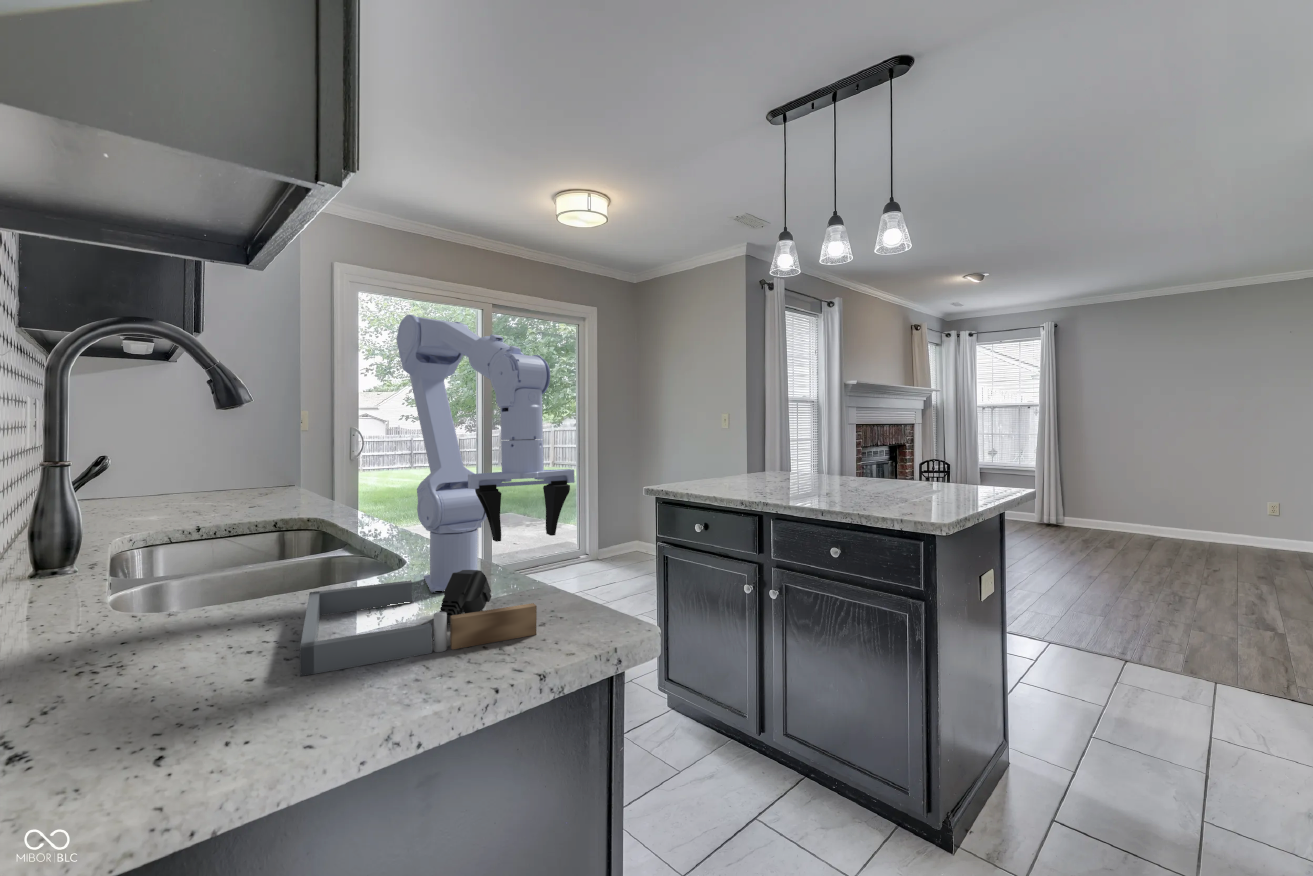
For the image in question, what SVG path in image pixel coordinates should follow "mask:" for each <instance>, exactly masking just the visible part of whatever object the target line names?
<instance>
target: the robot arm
mask: <svg viewBox="0 0 1313 876" xmlns="http://www.w3.org/2000/svg"><path fill="white" fill-rule="evenodd" d="M397 329H398V330H397V335H396V345H397V350H398V355H399V359H400V363H401V367H402V370H403V371H404V372H405V373H407V375H409V380H410V384H411V388H412V392H413V397H414V402H415V407H416V411H417V415H418V416H417V417H418V420H419V425H420V430H421V433H422V439H423V443H424V444H423V445H424V449H425V452H426V458H427V462H428V466H429V471H430V473H429V474H428V475H427V476H426V477H425V478H423V479H422V481H421V482H420V483H419V484H418V486H417V488H416V495H417V509H416V511H417V512H416V513H417V517H418V520H419V523H420V524H421V525H422V527H423V528H424V529H425V531H427V532H429V574H425V575H423V580H424V579H425V580H424V582H425V581H426V582H425V583H427V584H426V585H428V586H427V587H429V588H428V590H429V591H430V593H433V592H434V593H436V592H435V591H442V592H444V590H445V589H446V587H447V584H448V582H449V580H450V578H451V576H452V574H453V573H455V572H460V571H462V570H478V529H481V528H482V527H483V526H482V523H484V521H486V519H487V521H488V526H489V529H490V532H491V538H492V540H493V542H502V525H501V505H502V503H501V502H502V492H501V491H499V488H502V487H503V488H504V487H518V486H534V485H535V486H536V485H543V486H542V489H543V497H544V505H545V533H546V535H548V536H552V537H553V536H556V534H557V533H556V532H557V527H558V523H559V518H560V514H561V511H562V509H563V506H564V503H565V502H566V499H567V497H568V496H569V493H570V490H571V484H574V483H575V482H576V481H575V469H574V468H573V469H572V468H565V469H563V468H562V469H545V468H544V466H545V465H544V431H543V430H544V427H543V425H544V424H543V395H544V394H545V393H546V392H547V390H548V388H549V386H550V382H551V369H550V366H549V363H548V362H547V360H546V359H544V358H543V357H542V356H541V355H539V354H533V355H527V354H525V353H523V352H522V349H521V348H520V347H519V346H517V345H509V344H507V343H505V342H504V337H503V336H501V335H499V334H493V333H492V334H490V335H485V336H481V337H480V336H479V335H477V333H475V332H473V331H472V330H471V329H469V325H468V324H465V323H462V322H461V321H449V320H441V319H435V318H428V317H422V316H416V315H413V314H406V315H405V316H404V317H403V318H402V320H401V321H400V323H399V325H398V328H397ZM463 356H465V357H467V358H468V362H469V365H470V367H471V368H472V369H473V370H475V371H476V372H477V373H479V374H480V375H481V376H484V377H485V378H486V379H488V380H490V382H491V386H492V388H493V389H492V390H493V391H494V393H495V402H496V405H497V406H496V407H498V408H499V409H500V447H501V448H500V449H501V471H494V472H483V473H475V472H473V471H472V470H470V469H469V468H467V467H466V466H465V465H464V462H463V459H462V453H461V450H460V444H459V442H458V441H459V440H458V437H457V432H456V427H455V423H454V418H453V415H452V409H451V407H450V401H449V397H448V394H447V389H446V385H445V379H446V378H449V376H452V375H454V374H455V372H456V371H457V369H458V366H459V364H460V362H461V360H462V359H463ZM525 479H527V481H512V480H525ZM529 479H534V480H529Z"/></svg>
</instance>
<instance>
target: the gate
mask: <svg viewBox="0 0 1313 876" xmlns="http://www.w3.org/2000/svg"><path fill="white" fill-rule="evenodd" d="M537 609H538V608H537V605H536V603H534V602H532V603H525V604H519V605H513V606H512V605H511V606H505V607H500V608H492V609H486V610H485V611H478V612H472V613H462V614H458V615H452V616H450V624H449V627H450V628H449V629H450V630H449V631H450V635H449V636H450V638H449V641H450V645H449V646H450V648H451V650H457V649H463V648H468V647H469V648H471V647H474V646H480V645H486V644H492V643H495V642H496V643H498V642H503V641H507V640H508V641H509V640H514V639H519V638H525V637H531V636H535V635H537V620H538V619H537V613H538V611H537Z"/></svg>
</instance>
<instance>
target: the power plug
mask: <svg viewBox="0 0 1313 876" xmlns="http://www.w3.org/2000/svg"><path fill="white" fill-rule="evenodd" d="M491 591H492V590H491V587H490V584H489V581H488V579H487V576H486V575H485V574H484V571H482V570H479V569H477V570H462V571H460V572H455V573H453V574H452V576H451V578H450V580H449V582H448V584H447V587H446V589H445V591H443V593H444V596H443V598H442V601H441V605H440V608H439V609H440V611H439V612H446V613H447V625H450V616H452V615H458V614H465V613H472V612H478V611H485V610H487V607H486V605H487V603H489V602H490V601H491V599H492V595H491ZM432 641H433V642H434V638H433V639H432Z"/></svg>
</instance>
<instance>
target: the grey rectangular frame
mask: <svg viewBox="0 0 1313 876" xmlns="http://www.w3.org/2000/svg"><path fill="white" fill-rule="evenodd" d="M307 599H308V600H307V605H306V612H305V616H304V621H303V630H302V633H301V641H300V645H299V648H300V649H299V654H300V655H299V663H300V665H299V666H300V667H299V671H300V673H299V674H300V675H299V677H303V676H308V675H309V676H311V675H315V674H322V673H327V672H332V671H337V670H345V669H350V668H354V667H355V668H356V667H361V666H366V665H370V664H371V665H372V664H378V663H383V662H388V661H393V660H394V661H395V660H400V659H405V658H411V657H417V656H422V655H427V654H432V652H435V653H442V652H445V651H447V649H448V630H447V629H448V628H447V627H448V624H447V613H446V612H440V611H438V612H435V613H434V614H433V627H432V625H431V623H425V624H419V625H418V624H417V625H413V626H412V625H411V626H406V627H399V628H392V629H388V630H386V629H385V630H379V631H374V632H367V633H361V634H353V635H349V636H341V637H334V638H328V639H322V640H318V636H319V628H320V627H319V626H320V619H321V618H320V616H326V615H327V616H328V615H333V614H335V615H336V614H341V613H348V612H355V611H356V610H357V611H362V610H361V609H364V610H368V609H367V608H371V609H374V608H373V607H379V608H382V607H381V606H386V607H388V606H387V605H390V604H398V603H404V602H411V601H412V602H413V581H412V580H402V581H394V582H387V583H386V582H385V583H378V584H367V585H361V586H353V587H351V586H350V587H343V588H337V589H335V588H333V589H326V590H318V591H310V592H308V598H307ZM432 628H433V629H432ZM432 631H433V635H432ZM432 637H433V639H434V641H433V639H432ZM432 641H433V642H432ZM432 649H433V650H432Z"/></svg>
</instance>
